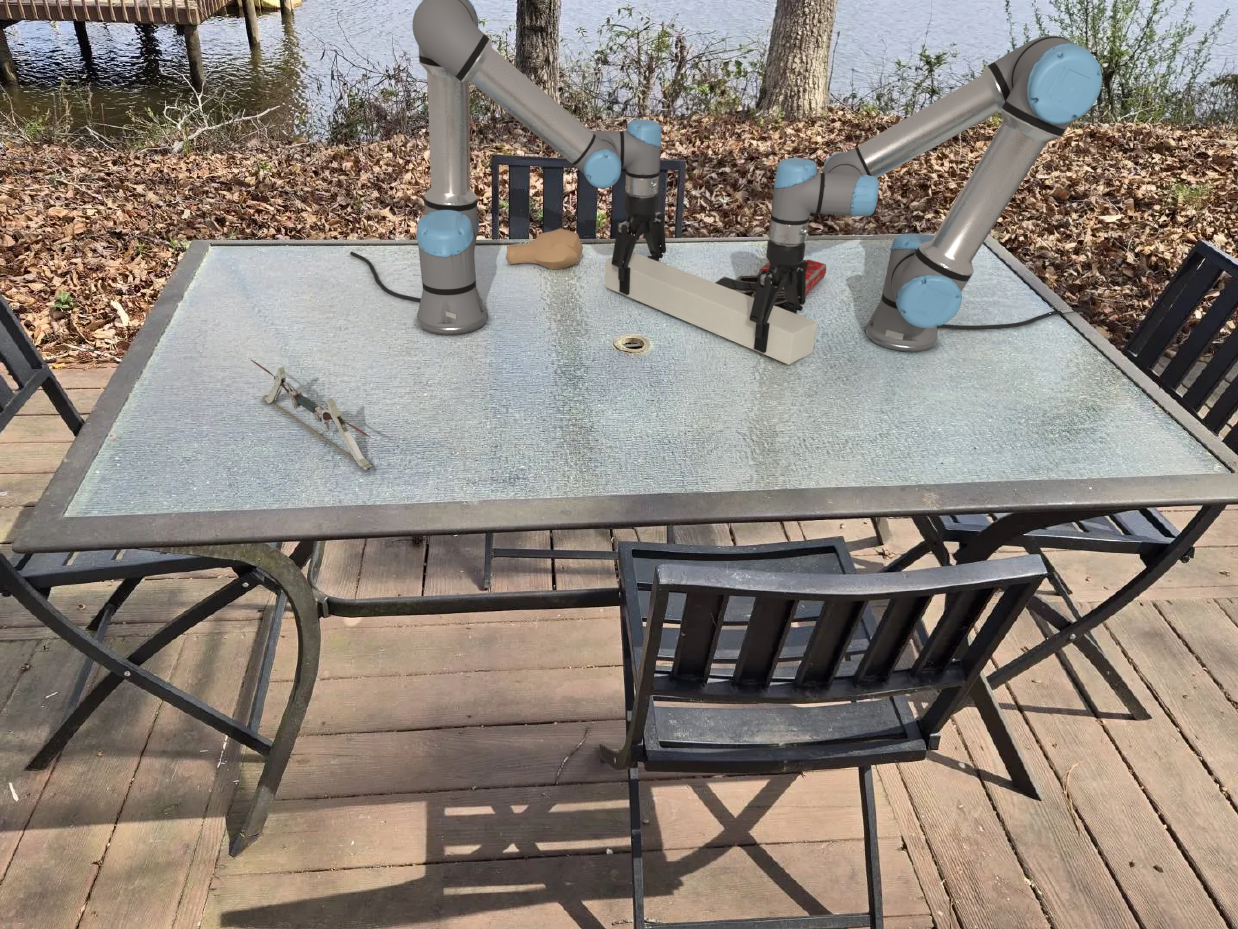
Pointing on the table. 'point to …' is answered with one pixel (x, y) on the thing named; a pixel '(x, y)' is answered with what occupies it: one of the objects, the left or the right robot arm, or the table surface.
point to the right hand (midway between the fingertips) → (773, 343)
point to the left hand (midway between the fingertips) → (638, 287)
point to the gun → (749, 284)
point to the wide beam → (713, 307)
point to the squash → (548, 250)
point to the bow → (316, 413)
